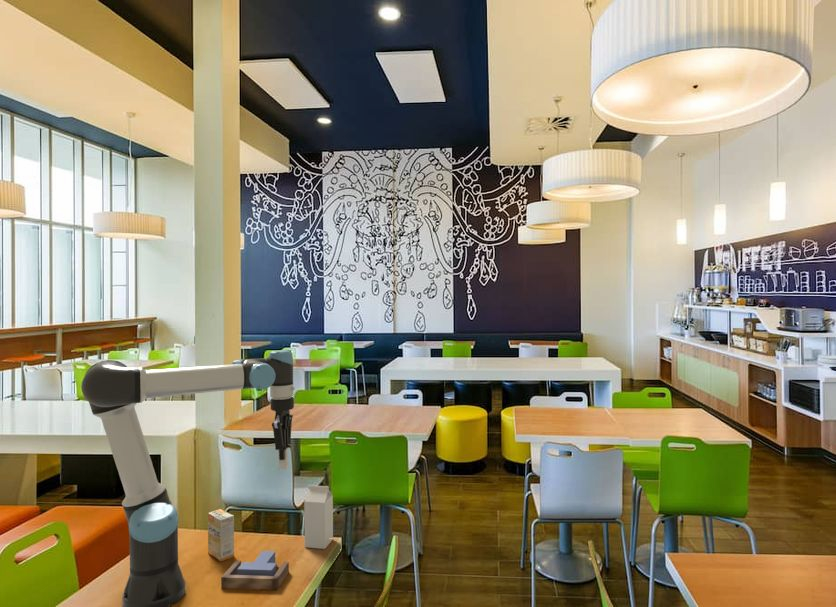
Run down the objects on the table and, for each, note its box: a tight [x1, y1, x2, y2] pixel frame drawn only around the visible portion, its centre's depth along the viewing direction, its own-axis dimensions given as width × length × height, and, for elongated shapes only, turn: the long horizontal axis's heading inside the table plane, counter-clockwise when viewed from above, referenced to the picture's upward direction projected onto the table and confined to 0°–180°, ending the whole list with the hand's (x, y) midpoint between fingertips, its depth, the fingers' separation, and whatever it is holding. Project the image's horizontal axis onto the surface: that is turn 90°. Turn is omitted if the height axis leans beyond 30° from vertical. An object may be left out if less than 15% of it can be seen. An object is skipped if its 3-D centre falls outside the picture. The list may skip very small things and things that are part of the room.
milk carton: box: [303, 484, 334, 550], centre depth 169 cm, size 7×7×19 cm
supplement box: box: [207, 508, 235, 562], centre depth 162 cm, size 8×5×13 cm, turn 49°
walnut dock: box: [220, 560, 290, 591], centre depth 147 cm, size 16×10×3 cm, turn 85°
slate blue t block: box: [237, 550, 278, 576], centre depth 150 cm, size 11×10×4 cm
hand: (283, 468), depth 169 cm, fingers closed
